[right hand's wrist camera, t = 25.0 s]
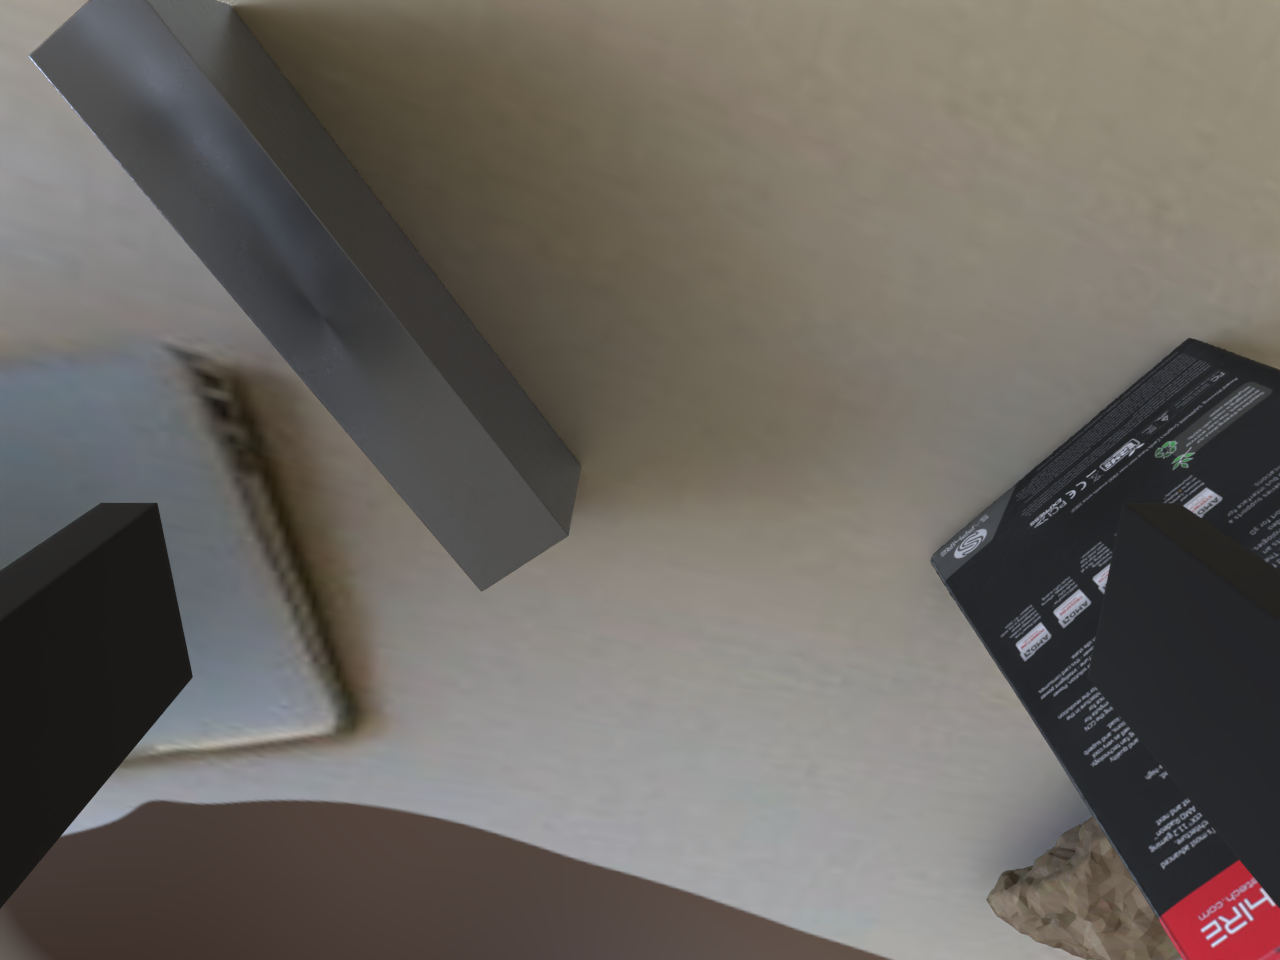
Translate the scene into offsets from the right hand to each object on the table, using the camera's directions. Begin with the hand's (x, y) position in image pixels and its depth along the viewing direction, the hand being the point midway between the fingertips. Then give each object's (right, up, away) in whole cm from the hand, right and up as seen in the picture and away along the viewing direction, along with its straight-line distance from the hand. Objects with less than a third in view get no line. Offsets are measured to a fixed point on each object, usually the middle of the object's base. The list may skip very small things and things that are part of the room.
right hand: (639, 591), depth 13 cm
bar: (-12, +11, +31) cm, 35 cm away
